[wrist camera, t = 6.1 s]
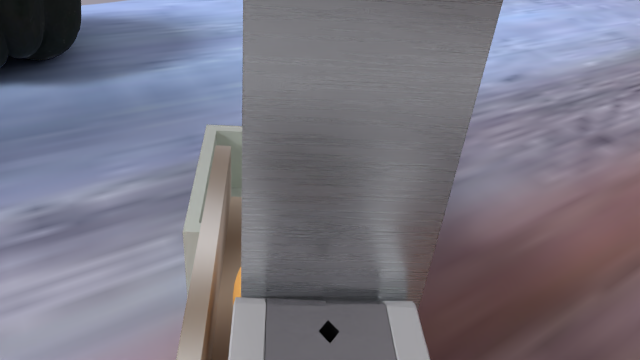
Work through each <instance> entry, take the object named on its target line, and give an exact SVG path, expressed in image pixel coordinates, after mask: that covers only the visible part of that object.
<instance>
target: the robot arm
mask: <svg viewBox="0 0 640 360" xmlns="http://www.w3.org/2000/svg"><path fill="white" fill-rule="evenodd" d="M228 360H430V356H429V352H428V349H427V345H426V341H425V337H424V333H423V330H422V326H421V322H420V318H419V315H418V311H417V307H416V305H415V304H414V303H413V301H383V302H382V301H378V300H324V301H320V300H299V299H277V298H267V300H266V298H245V297H236V298H235V301H234V305H233V315H232V325H231V336H230V346H229V356H228Z"/></svg>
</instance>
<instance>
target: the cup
mask: <svg viewBox="0 0 640 360" xmlns="http://www.w3.org/2000/svg"><path fill="white" fill-rule="evenodd" d="M216 145H220V146H231V197H242V126H225V125H206V129H205V134H204V138H203V143H202V147H201V152H200V156H199V161H198V165H197V170H196V174H195V179H194V183H193V188H192V192H191V197H190V201H189V206H188V210H187V215H186V219H185V224H184V228H183V243H184V256H185V270H186V284H187V297H188V292H189V287H190V281H191V276H192V270H193V265H194V259H195V254H196V249H197V243H198V238H199V232H200V227H201V221H202V216H203V211H204V205H205V200H206V194H207V189H208V184H209V178H210V173H211V167H212V162H213V156H214V151H215V146H216Z"/></svg>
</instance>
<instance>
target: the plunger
mask: <svg viewBox="0 0 640 360" xmlns="http://www.w3.org/2000/svg"><path fill="white" fill-rule="evenodd" d="M502 2H503V0H243V98H242V230H241V297H245V298H266V300H267V298H277V299H299V300H320V301H324V300H378V301H382V302H383V301H413V303H414V304H415V305H416V307H417V311H418V308H419V304H420V301H421V297H422V294H423V290H424V286H425V283H426V279H427V275H428V272H429V268H430V264H431V261H432V257H433V254H434V250H435V246H436V243H437V239H438V235H439V232H440V228H441V224H442V221H443V217H444V213H445V210H446V206H447V203H448V199H449V195H450V192H451V188H452V184H453V181H454V177H455V173H456V170H457V166H458V163H459V159H460V155H461V152H462V148H463V144H464V141H465V137H466V133H467V130H468V126H469V123H470V119H471V115H472V112H473V108H474V104H475V101H476V97H477V93H478V90H479V86H480V82H481V79H482V75H483V72H484V68H485V64H486V61H487V57H488V53H489V50H490V46H491V42H492V39H493V35H494V32H495V28H496V24H497V21H498V17H499V13H500V10H501V6H502Z"/></svg>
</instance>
